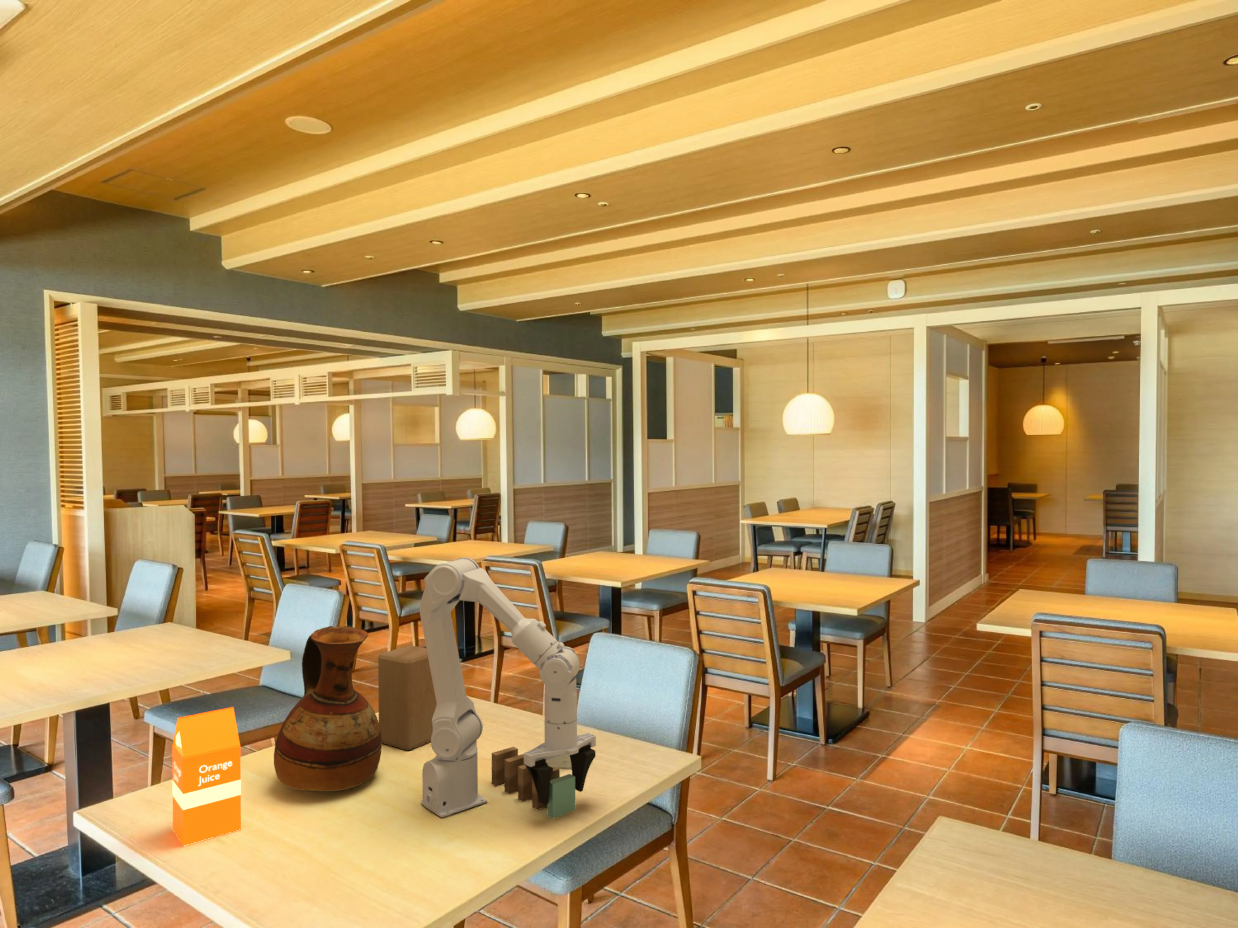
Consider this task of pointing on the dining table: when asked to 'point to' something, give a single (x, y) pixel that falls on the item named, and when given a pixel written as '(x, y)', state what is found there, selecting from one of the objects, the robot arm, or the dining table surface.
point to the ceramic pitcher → (329, 720)
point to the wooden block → (405, 697)
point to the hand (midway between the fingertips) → (561, 795)
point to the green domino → (561, 796)
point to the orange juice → (206, 776)
